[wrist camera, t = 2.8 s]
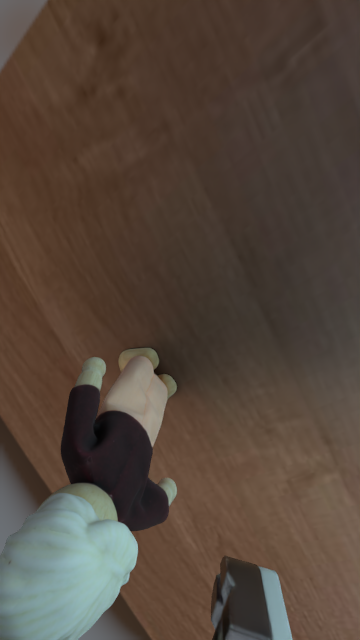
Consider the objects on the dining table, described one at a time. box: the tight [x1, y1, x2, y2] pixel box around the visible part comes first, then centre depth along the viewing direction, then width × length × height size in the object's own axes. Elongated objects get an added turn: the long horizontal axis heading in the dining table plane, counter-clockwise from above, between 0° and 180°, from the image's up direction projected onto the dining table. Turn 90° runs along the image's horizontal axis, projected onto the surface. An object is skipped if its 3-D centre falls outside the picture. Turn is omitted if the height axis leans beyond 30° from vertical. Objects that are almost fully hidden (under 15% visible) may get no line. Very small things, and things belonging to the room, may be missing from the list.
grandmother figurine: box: [0, 348, 177, 640], centre depth 11 cm, size 8×4×13 cm, turn 41°
